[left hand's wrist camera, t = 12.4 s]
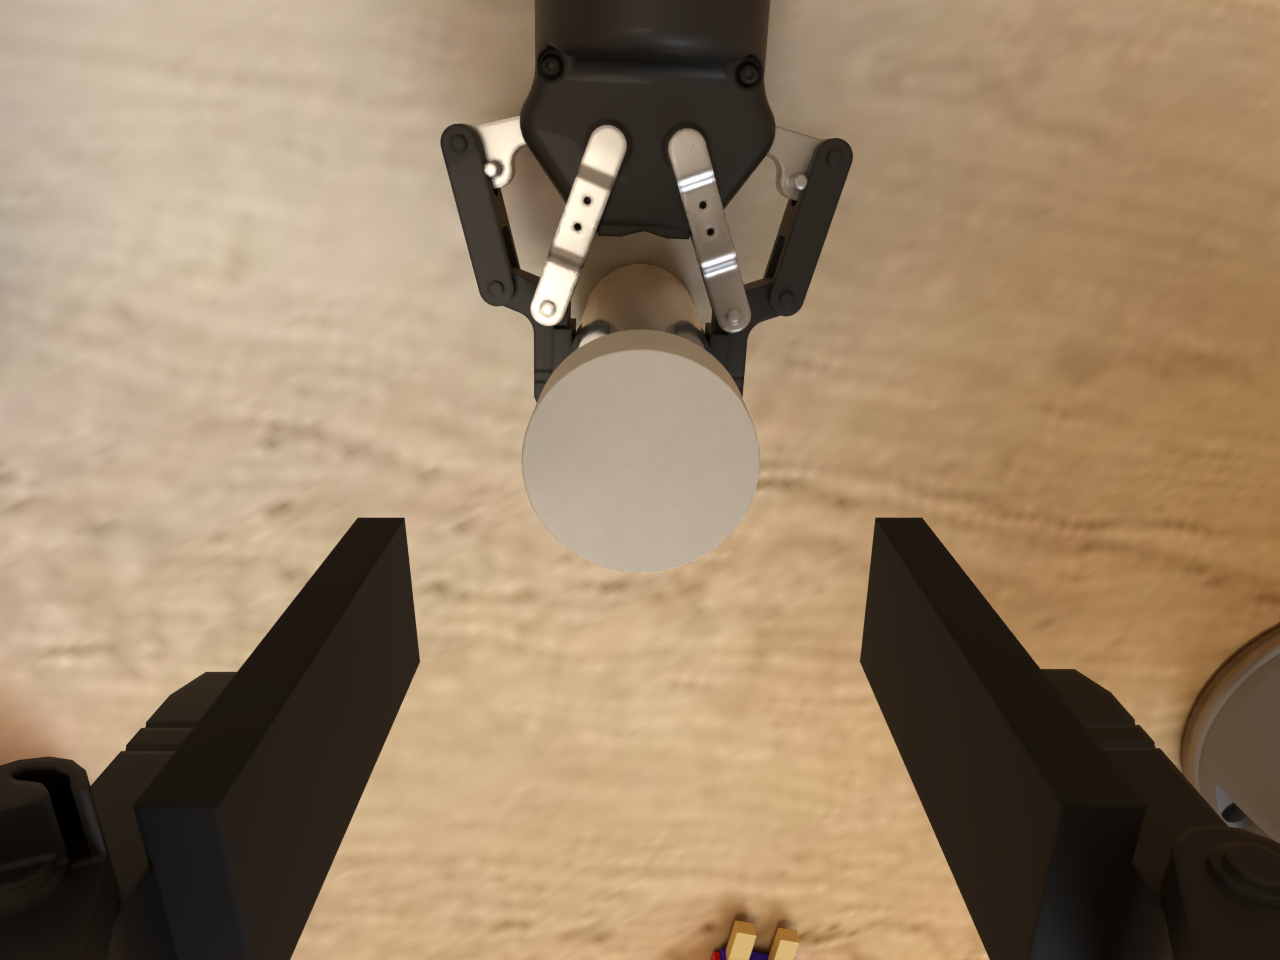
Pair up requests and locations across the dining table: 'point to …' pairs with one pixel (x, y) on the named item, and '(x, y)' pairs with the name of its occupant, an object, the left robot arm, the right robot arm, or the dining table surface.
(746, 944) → the toy figure
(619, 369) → the lid
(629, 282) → the grey cylinder
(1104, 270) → the dining table surface
